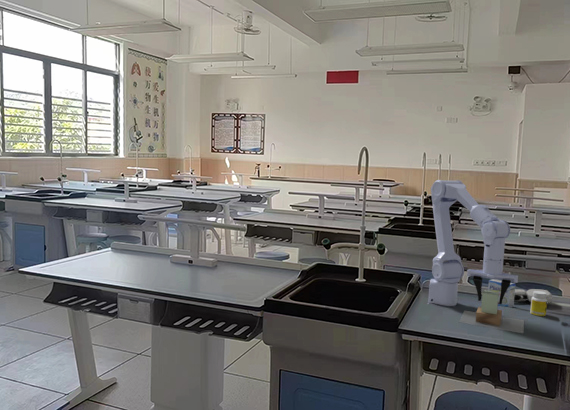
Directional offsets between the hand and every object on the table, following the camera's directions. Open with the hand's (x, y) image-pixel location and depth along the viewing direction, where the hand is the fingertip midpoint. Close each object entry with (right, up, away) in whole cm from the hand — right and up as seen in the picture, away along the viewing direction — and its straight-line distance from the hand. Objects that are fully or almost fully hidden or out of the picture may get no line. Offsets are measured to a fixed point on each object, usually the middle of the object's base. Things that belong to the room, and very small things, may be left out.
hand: (490, 301), depth 155 cm
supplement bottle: (+20, -7, +10) cm, 23 cm away
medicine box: (+13, -6, +22) cm, 26 cm away
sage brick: (0, -3, 0) cm, 3 cm away
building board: (+1, -7, 0) cm, 7 cm away
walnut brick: (0, -6, +1) cm, 6 cm away
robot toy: (+26, -6, +28) cm, 38 cm away
